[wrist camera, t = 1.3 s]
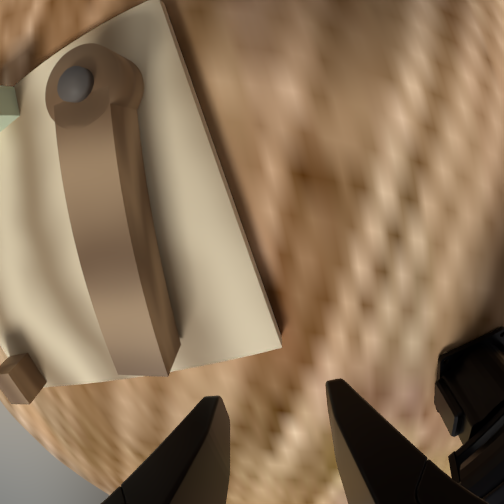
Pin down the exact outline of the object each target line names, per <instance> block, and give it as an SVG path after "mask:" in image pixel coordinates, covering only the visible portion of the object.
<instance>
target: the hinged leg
mask: <svg viewBox="0 0 504 504" xmlns="http://www.w3.org/2000/svg"><path fill="white" fill-rule="evenodd" d="M143 92H144V81H143V77H142V74H141V72H140V70H139V68H138V67H137V66H136V65H135V64H134V63H133V62H132V61H130V60H128V59H126V58H125V57H123V56H121V55H119V54H117V53H115V52H113V51H112V50H110V49H108V48H106V47H104V46H102V45H99V44H94V43H88V44H82V45H79V46H77V47H75V48H73V49H71V50H70V51H68V52H67V53H66V54H64V55H63V56H62V57H61V58H60V60H59V61H58V62H57V63H56V65H55V66H54V68H53V70H52V71H51V73H50V76H49V78H48V81H47V85H46V91H45V102H46V107H47V110H48V113H49V115H50V117H51V118H52V120H53V121H54V122H55V128H56V138H57V147H58V155H59V162H60V169H61V176H62V182H63V188H64V193H65V199H66V204H67V209H68V214H69V219H70V224H71V228H72V233H73V237H74V241H75V245H76V249H77V253H78V257H79V261H80V265H81V268H82V272H83V275H84V279H85V282H86V286H87V289H88V292H89V296H90V299H91V302H92V305H93V308H94V311H95V314H96V317H97V320H98V323H99V326H100V329H101V332H102V334H103V337H104V340H105V343H106V345H107V348H108V351H109V353H110V356H111V358H112V361H113V363H114V366H115V368H116V371H117V373H118V375H135V376H166V377H168V376H169V373H170V371H171V368H172V366H173V363H174V361H175V358H176V356H177V353H178V351H179V348H180V346H181V342H180V339H179V335H178V331H177V327H176V323H175V319H174V315H173V311H172V307H171V303H170V299H169V295H168V290H167V286H166V281H165V277H164V272H163V268H162V263H161V258H160V253H159V249H158V244H157V239H156V233H155V228H154V223H153V217H152V212H151V206H150V200H149V194H148V188H147V182H146V175H145V169H144V162H143V155H142V147H141V139H140V131H139V123H138V114H137V109H138V107H139V105H140V103H141V100H142V97H143Z"/></svg>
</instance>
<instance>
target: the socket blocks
mask: <svg viewBox="0 0 504 504" xmlns="http://www.w3.org/2000/svg"><path fill="white" fill-rule="evenodd" d="M19 116H20V112H19V108H18V103H17V98H16V93H15V87H10V86H1V85H0V132H1V131H2V130H3V129H5V128H6V127H7V126H8V125H9V124H11V123H12V122H13V121H14V120H15V119H17V118H18V117H19Z"/></svg>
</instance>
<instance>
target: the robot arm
mask: <svg viewBox="0 0 504 504" xmlns="http://www.w3.org/2000/svg"><path fill="white" fill-rule="evenodd" d="M444 360H445V361H444ZM326 395H327V405H328V413H329V419H330V425H331V431H332V438H333V444H334V451H335V457H336V462H337V466H338V470H339V473H340V477H341V480H342V483H343V487H344V490H345V494H346V497H347V500H348V504H504V327H500V328H498V329H496V330H494V331H492V332H490V333H488V334H486V335H484V336H482V337H480V338H478V339H476V340H474V341H471V342H469V343H467V344H465V345H463V346H461V347H458V348H456V349H454V350H452V351H449V352H447V353H445V354H443V355H441V356H440V358H439V359H438V378H437V381H436V383H435V396H434V404H435V406H436V410H437V412H439V413H440V415H441V417H442V419H443V421H444V423H445V425H446V427H447V429H448V431H449V433H450V435H451V436H453V437H455V436H457V435H458V436H459V438H460V440H461V442H462V444H463V445H462V446H461V447H460V448H459V449H458V450H457V451H454V452H453V453H452V454H450V455H449V456H448V458H449V463H450V470H451V476H452V478H450V477H449V476H448V475H447V474H446V473H444V472H443V471H442V470H441V469H440V468H438V467H437V466H436V465H435V464H434V463H433V462H432V461H431V460H427V457H426V456H425V455H424V454H423V453H422V452H421V451H419V450H418V449H417V448H416V447H415V446H414V445H413V444H412V443H411V442H410V441H409V440H407V439H406V438H405V437H404V436H403V435H402V434H401V433H400V432H399V431H398V430H397V429H395V428H394V427H393V426H392V425H391V424H390V423H389V422H388V421H387V420H386V419H385V418H384V417H383V416H381V415H380V414H379V413H378V412H377V411H376V410H375V409H374V408H373V407H372V406H371V405H370V404H369V403H368V402H367V401H366V400H364V399H363V398H362V397H361V396H360V395H359V394H358V393H357V392H356V391H355V390H354V389H353V388H352V387H351V386H350V385H349V384H348V383H347V382H346V381H344V380H343V379H335V380H330V381H327V382H326ZM229 476H230V419H229V416H228V413H227V411H226V408H225V405H224V403H223V400H222V398H221V397H220V396H207V397H204V398H203V399H202V400H201V401H200V402H199V403H198V404H197V405H196V406H195V407H194V409H193V410H192V411H191V412H190V413H189V414H188V415H187V416H186V417H185V418H184V420H183V421H182V422H181V423H180V424H179V425H178V426H177V427H176V428H175V429H174V430H173V431H172V433H171V434H170V435H169V436H168V437H167V438H166V439H165V440H164V441H163V442H162V443H161V444H160V445H159V446H158V447H157V448H156V450H155V451H154V452H153V453H152V454H151V455H150V456H149V457H148V458H147V459H146V460H145V461H144V462H143V463H142V464H141V465H140V466H139V467H138V468H137V469H136V470H135V471H134V472H133V473H132V474H131V475H130V476H129V477H128V478H127V479H126V480H125V481H124V482H123V483H122V484H121V487H118V488H117V489H116V490H115V491H114V492H113V493H112V494H111V495H110V496H109V497H108V498H107V499H106V500H104V501H103V502H102V503H101V504H226V499H227V491H228V484H229Z"/></svg>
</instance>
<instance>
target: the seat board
mask: <svg viewBox="0 0 504 504" xmlns="http://www.w3.org/2000/svg"><path fill="white" fill-rule="evenodd" d="M88 43H94V44H99V45H102V46H104V47H106V48H108V49H110V50H112V51H113V52H115V53H117V54H119V55H121V56H123V57H125V58H126V59H128V60H130V61H132V62H133V63H134V64H135V65H136V66H137V67H138V68H139V70H140V72H141V74H142V77H143V81H144V92H143V97H142V100H141V103H140V105H139V107H138V109H137V114H138V123H139V131H140V139H141V147H142V155H143V162H144V169H145V175H146V182H147V188H148V194H149V200H150V206H151V212H152V217H153V223H154V228H155V233H156V239H157V244H158V249H159V253H160V258H161V263H162V268H163V272H164V277H165V281H166V286H167V290H168V295H169V299H170V303H171V307H172V311H173V315H174V319H175V323H176V327H177V331H178V335H179V339H180V342H181V346H180V348H179V351H178V353H177V356H176V358H175V361H174V363H173V366H172V368H171V371H170V372H172V371H177V370H183V369H188V368H193V367H199V366H204V365H209V364H214V363H218V362H223V361H228V360H232V359H237V358H241V357H245V356H250V355H254V354H258V353H262V352H266V351H270V350H274V349H278V348H282V338H281V334H280V331H279V328H278V325H277V323H276V320H275V317H274V314H273V311H272V308H271V306H270V303H269V300H268V297H267V294H266V291H265V289H264V286H263V283H262V280H261V277H260V274H259V271H258V269H257V266H256V263H255V260H254V257H253V254H252V252H251V249H250V246H249V243H248V240H247V237H246V235H245V232H244V229H243V226H242V223H241V220H240V218H239V215H238V212H237V209H236V206H235V203H234V200H233V198H232V195H231V192H230V189H229V186H228V183H227V181H226V178H225V175H224V172H223V169H222V166H221V164H220V161H219V158H218V155H217V152H216V149H215V147H214V144H213V141H212V138H211V135H210V132H209V129H208V127H207V124H206V121H205V118H204V115H203V112H202V110H201V107H200V104H199V101H198V98H197V95H196V93H195V90H194V87H193V84H192V81H191V78H190V75H189V73H188V70H187V67H186V64H185V61H184V58H183V56H182V53H181V50H180V47H179V44H178V41H177V38H176V36H175V33H174V30H173V27H172V24H171V21H170V19H169V16H168V13H167V10H166V7H165V4H164V3H163V2H162V0H148V1H146V2H144V3H142V4H140V5H138V6H136V7H134V8H132V9H130V10H128V11H126V12H124V13H122V14H120V15H118V16H116V17H114V18H112V19H110V20H109V21H107V22H105V23H103V24H102V25H100V26H98V27H96V28H95V29H93V30H91V31H90V32H88V33H86V34H85V35H83V36H81V37H80V38H78V39H77V40H75V41H74V42H72V43H71V44H69V45H68V46H66V47H65V48H63V49H62V50H60V51H59V52H57V53H56V54H54V55H53V56H52V57H50V58H49V59H47V60H46V61H45V62H43V63H42V64H41V65H39V66H38V67H37V68H35V69H34V70H33V71H32V72H30V73H29V74H28V75H27V76H25V77H24V78H23V79H22V80H20V81H19V82H18V83H17V84H16V85H14V86H13V87H15V93H16V98H17V103H18V108H19V112H20V116H19V117H18V118H17V119H15V120H14V121H13V122H12V123H11V124H9V125H8V126H7V127H6V128H5V129H3V130H2V131H1V132H0V345H1V347H2V349H3V351H4V352H5V354H6V355H7V357H8V358H7V359H6V360H5V361H4V362H3V363H2V364H1V365H0V389H1V390H2V392H3V393H4V395H5V396H6V397H7V399H8V400H9V402H10V403H11V404H30V403H31V402H32V401H33V400H34V398H35V397H36V396H37V394H38V393H39V392H40V391H41V389H42V388H43V387H54V386H66V385H77V384H87V383H96V382H104V381H112V380H120V379H127V378H134V377H141V376H135V375H118V373H117V371H116V368H115V366H114V363H113V361H112V358H111V356H110V353H109V351H108V348H107V345H106V343H105V340H104V337H103V334H102V332H101V329H100V326H99V323H98V320H97V317H96V314H95V311H94V308H93V305H92V302H91V299H90V296H89V292H88V289H87V286H86V282H85V279H84V275H83V272H82V268H81V265H80V261H79V257H78V253H77V249H76V245H75V241H74V237H73V233H72V228H71V224H70V219H69V214H68V209H67V204H66V199H65V193H64V188H63V182H62V176H61V169H60V162H59V155H58V147H57V138H56V128H55V122H54V121H53V120H52V118H51V117H50V115H49V113H48V110H47V107H46V102H45V91H46V85H47V81H48V78H49V76H50V73H51V71H52V70H53V68H54V66H55V65H56V63H57V62H58V61H59V60H60V58H61V57H62V56H63V55H64V54H66V53H67V52H68V51H70V50H71V49H73V48H75V47H77V46H79V45H82V44H88Z"/></svg>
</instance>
